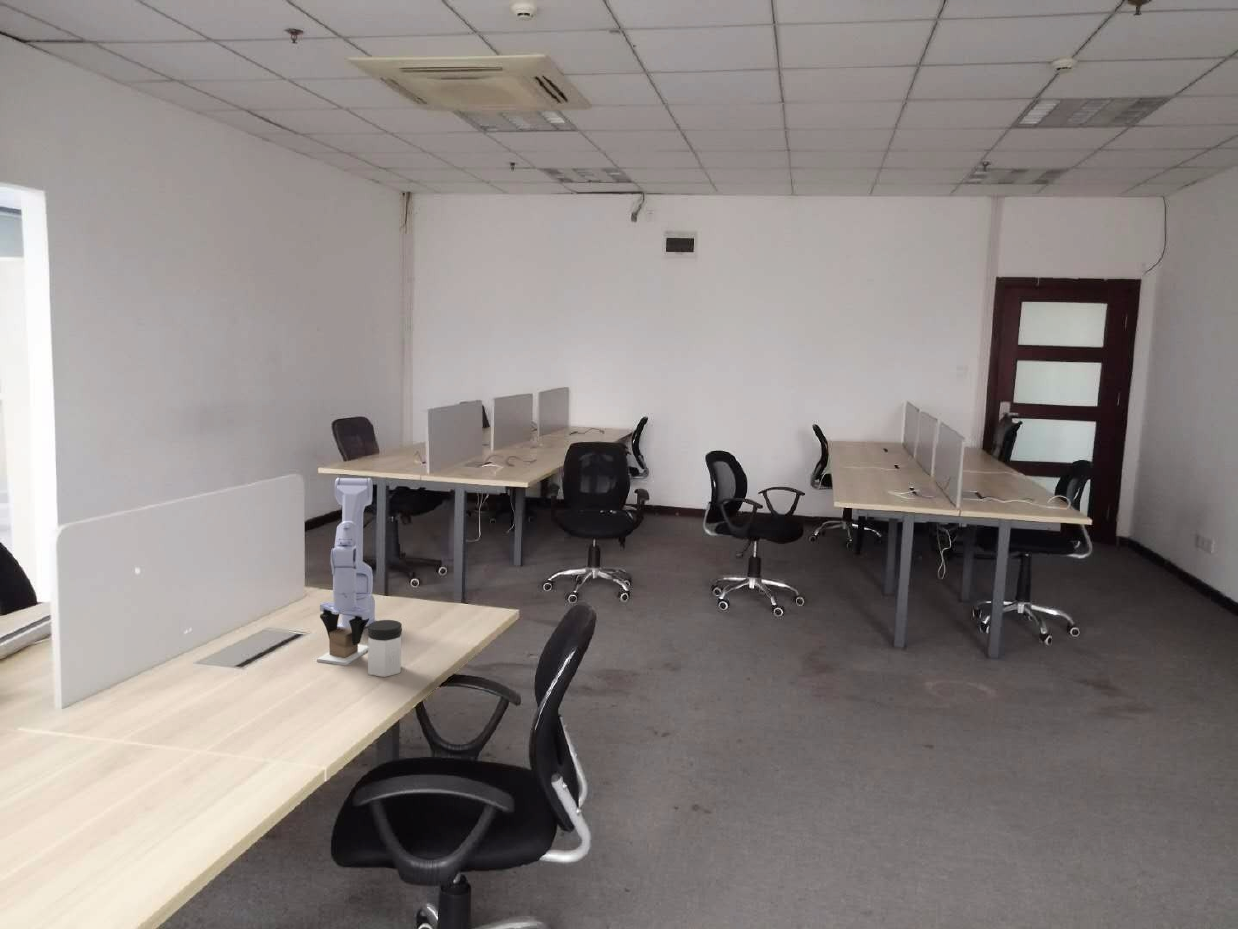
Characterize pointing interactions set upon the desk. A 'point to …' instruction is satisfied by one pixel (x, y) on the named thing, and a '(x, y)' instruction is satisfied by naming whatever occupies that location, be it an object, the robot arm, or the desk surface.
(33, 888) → the desk surface
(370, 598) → the robot arm
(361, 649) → the external hard drive
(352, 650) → the walnut block
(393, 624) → the jar
